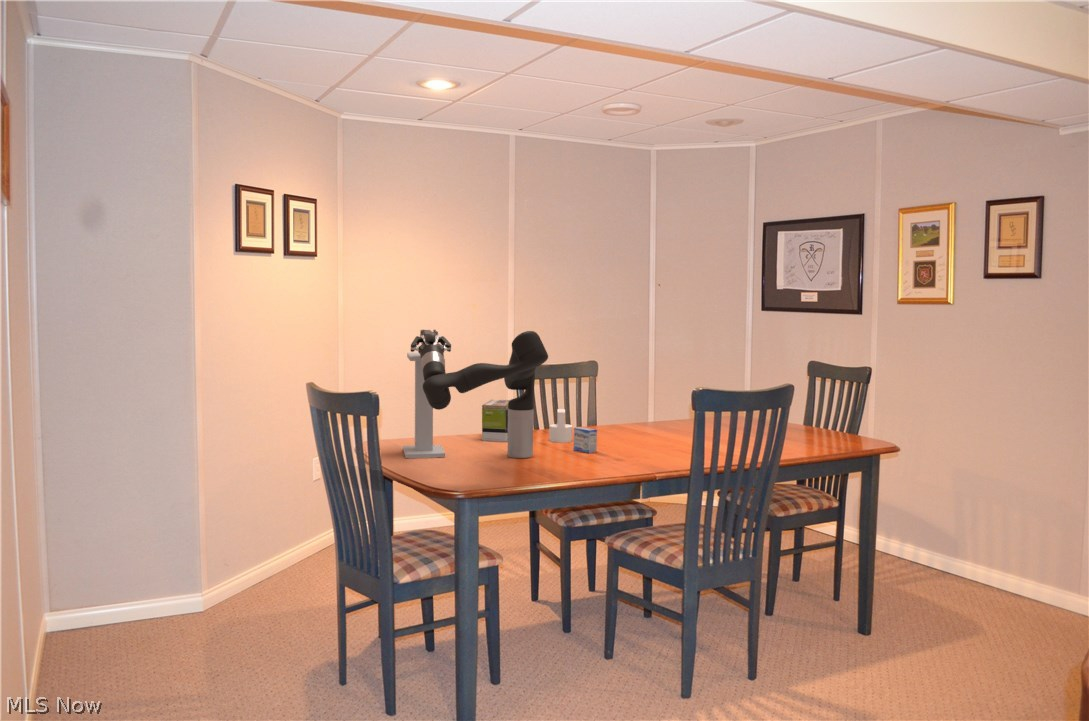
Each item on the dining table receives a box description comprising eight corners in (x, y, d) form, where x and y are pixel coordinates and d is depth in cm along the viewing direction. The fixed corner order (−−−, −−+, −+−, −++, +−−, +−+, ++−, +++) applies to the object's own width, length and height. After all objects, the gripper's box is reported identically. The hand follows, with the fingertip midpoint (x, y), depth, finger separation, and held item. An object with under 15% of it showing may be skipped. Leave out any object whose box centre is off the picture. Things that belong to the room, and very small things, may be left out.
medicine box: (573, 450, 325) (573, 427, 324) (580, 449, 328) (581, 426, 327) (589, 453, 320) (589, 430, 319) (596, 452, 323) (597, 429, 322)
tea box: (491, 434, 356) (491, 398, 354) (515, 435, 354) (515, 399, 352) (481, 441, 341) (481, 403, 340) (506, 442, 339) (506, 405, 338)
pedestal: (445, 457, 308) (445, 356, 305) (405, 458, 305) (405, 356, 302) (440, 448, 324) (441, 352, 321) (402, 449, 321) (403, 352, 318)
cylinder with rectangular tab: (572, 443, 340) (572, 412, 339) (549, 442, 340) (549, 412, 339) (571, 438, 349) (572, 409, 348) (549, 438, 349) (550, 408, 348)
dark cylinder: (436, 341, 283) (436, 334, 283) (426, 341, 283) (426, 334, 282) (429, 336, 309) (429, 329, 309) (420, 336, 308) (420, 329, 308)
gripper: (410, 371, 278) (407, 341, 292) (454, 370, 281) (449, 341, 295) (411, 351, 274) (408, 322, 288) (455, 351, 277) (450, 322, 291)
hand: (428, 332), depth 291 cm, fingers closed on dark cylinder, 3 cm apart
